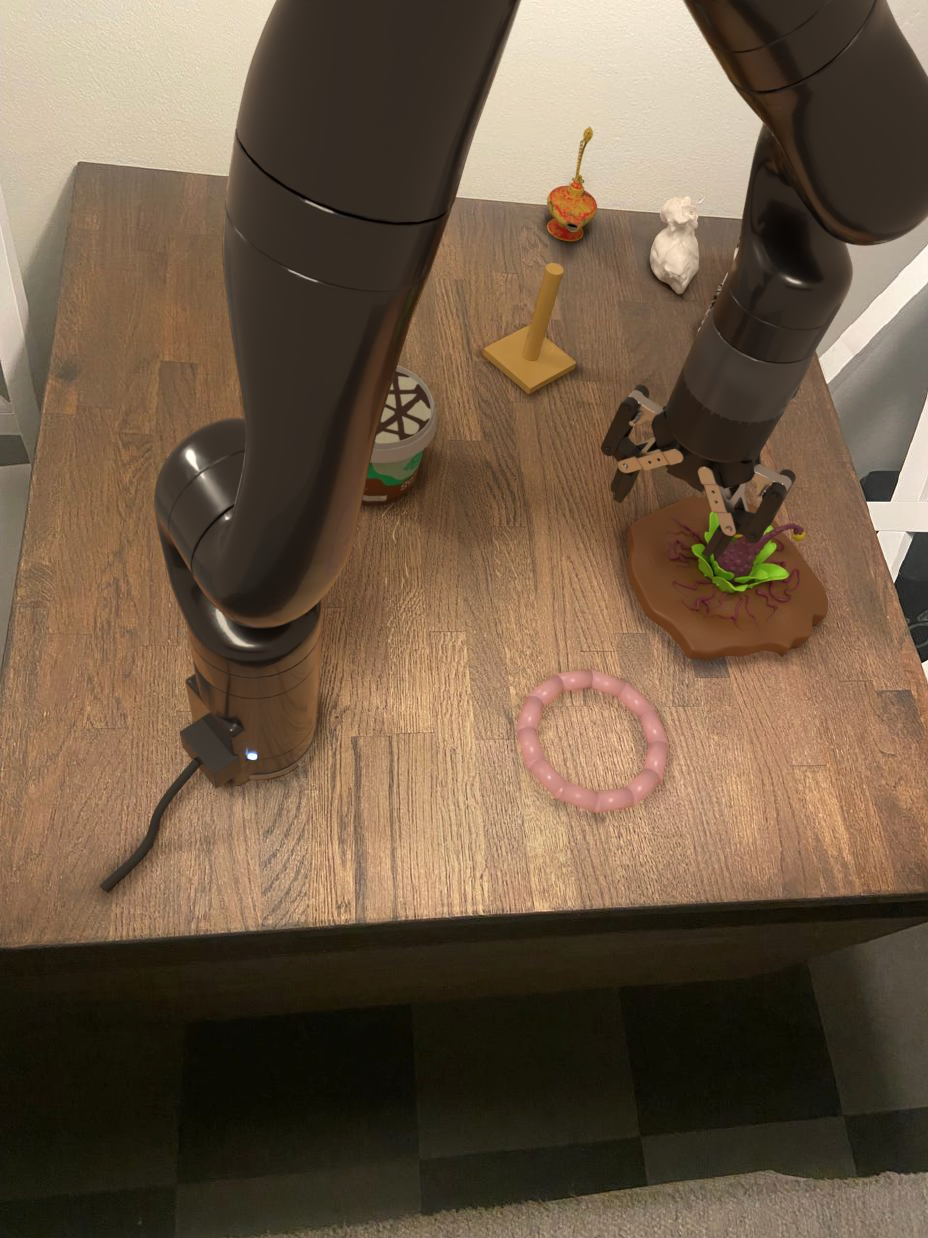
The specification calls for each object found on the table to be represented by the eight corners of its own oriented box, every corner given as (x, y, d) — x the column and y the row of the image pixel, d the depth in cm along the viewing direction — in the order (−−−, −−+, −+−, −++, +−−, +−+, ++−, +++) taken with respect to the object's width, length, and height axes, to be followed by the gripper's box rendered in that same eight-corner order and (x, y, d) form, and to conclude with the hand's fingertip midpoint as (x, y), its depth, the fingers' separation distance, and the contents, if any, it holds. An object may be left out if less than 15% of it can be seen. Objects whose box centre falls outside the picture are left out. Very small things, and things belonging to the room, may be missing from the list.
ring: (594, 846, 77) (600, 838, 76) (485, 731, 81) (489, 722, 80) (692, 753, 84) (699, 745, 82) (586, 651, 88) (591, 642, 86)
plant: (590, 531, 96) (623, 458, 87) (740, 493, 103) (785, 421, 94) (685, 690, 87) (733, 628, 78) (842, 637, 94) (903, 574, 85)
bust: (663, 261, 129) (636, 189, 121) (717, 242, 125) (692, 167, 117) (658, 313, 122) (628, 241, 114) (714, 296, 118) (688, 220, 111)
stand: (528, 394, 106) (555, 302, 95) (482, 354, 109) (503, 259, 98) (574, 368, 110) (605, 276, 99) (528, 330, 112) (554, 236, 102)
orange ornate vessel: (533, 271, 119) (553, 192, 110) (545, 194, 129) (565, 116, 120) (584, 282, 119) (608, 205, 110) (592, 205, 129) (615, 128, 120)
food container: (411, 529, 93) (423, 462, 84) (352, 514, 92) (359, 445, 84) (437, 444, 99) (451, 374, 91) (382, 430, 99) (391, 358, 91)
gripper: (622, 355, 62) (570, 505, 75) (810, 463, 59) (720, 598, 72) (674, 301, 65) (615, 453, 79) (854, 399, 62) (760, 540, 76)
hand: (665, 522), depth 76 cm, fingers open, 8 cm apart
